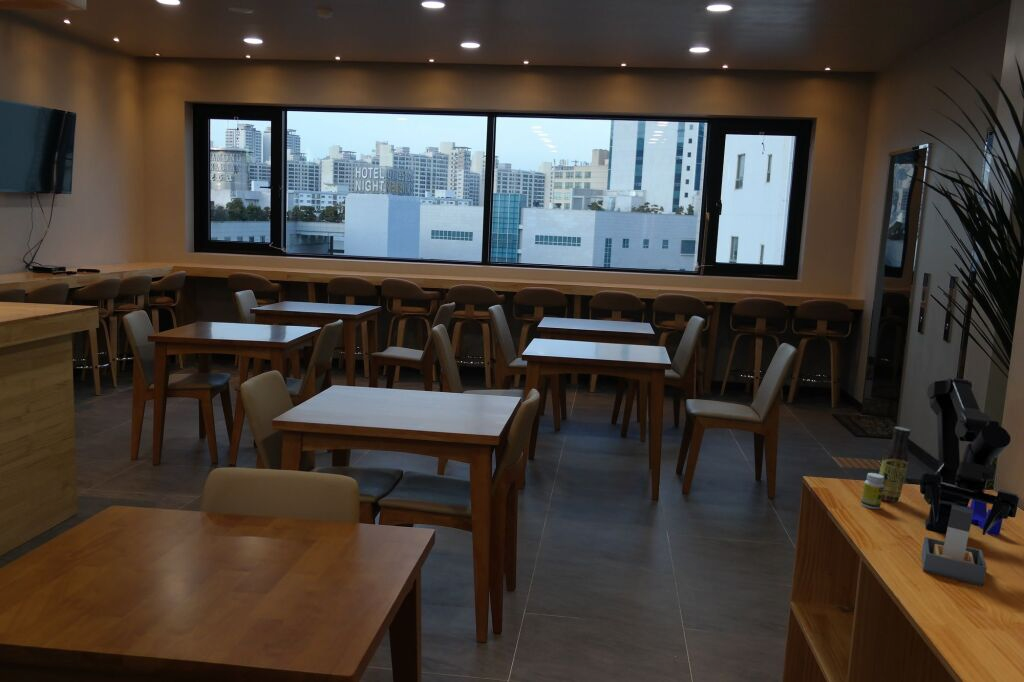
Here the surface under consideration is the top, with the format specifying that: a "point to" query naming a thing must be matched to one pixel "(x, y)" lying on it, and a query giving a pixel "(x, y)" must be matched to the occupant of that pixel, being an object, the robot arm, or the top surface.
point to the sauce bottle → (895, 465)
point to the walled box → (953, 563)
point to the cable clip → (983, 517)
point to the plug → (957, 532)
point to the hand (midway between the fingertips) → (959, 527)
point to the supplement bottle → (873, 491)
